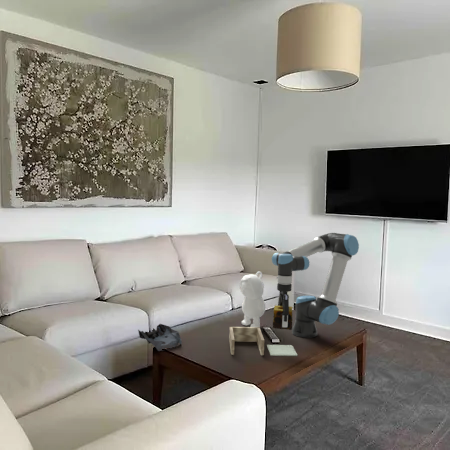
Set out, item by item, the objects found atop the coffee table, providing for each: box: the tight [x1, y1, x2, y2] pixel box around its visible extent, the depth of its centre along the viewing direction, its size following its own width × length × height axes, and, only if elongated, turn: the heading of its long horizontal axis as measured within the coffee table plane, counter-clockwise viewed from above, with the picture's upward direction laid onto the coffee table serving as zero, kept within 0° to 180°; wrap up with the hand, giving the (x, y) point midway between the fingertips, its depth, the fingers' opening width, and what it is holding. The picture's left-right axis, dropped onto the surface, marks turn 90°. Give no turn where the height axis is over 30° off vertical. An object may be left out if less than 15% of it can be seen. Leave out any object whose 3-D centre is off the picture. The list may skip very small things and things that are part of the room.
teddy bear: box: [239, 270, 266, 328], centre depth 266 cm, size 19×18×35 cm
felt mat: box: [266, 344, 298, 357], centre depth 228 cm, size 14×14×1 cm
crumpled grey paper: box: [137, 323, 183, 352], centre depth 231 cm, size 18×20×9 cm
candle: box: [272, 304, 293, 331], centre depth 226 cm, size 10×10×10 cm
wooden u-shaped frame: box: [228, 326, 265, 356], centre depth 230 cm, size 17×21×8 cm
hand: (282, 323), depth 226 cm, fingers closed on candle, 11 cm apart
